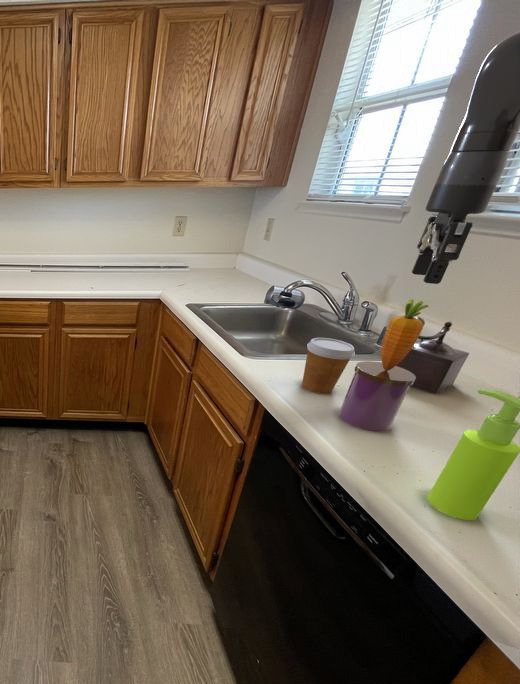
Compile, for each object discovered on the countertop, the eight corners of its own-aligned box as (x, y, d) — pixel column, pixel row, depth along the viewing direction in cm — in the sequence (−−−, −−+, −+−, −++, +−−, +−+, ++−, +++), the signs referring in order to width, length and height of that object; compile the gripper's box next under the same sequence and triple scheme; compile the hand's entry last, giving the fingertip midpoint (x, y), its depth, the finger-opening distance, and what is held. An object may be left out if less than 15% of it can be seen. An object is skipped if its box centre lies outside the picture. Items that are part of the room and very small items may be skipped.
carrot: (373, 363, 88) (402, 294, 82) (403, 371, 85) (436, 299, 78) (368, 370, 85) (398, 298, 79) (399, 378, 82) (432, 304, 75)
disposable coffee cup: (298, 376, 110) (312, 334, 105) (341, 388, 105) (358, 343, 99) (290, 389, 104) (305, 344, 99) (336, 401, 98) (354, 355, 93)
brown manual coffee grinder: (401, 370, 115) (429, 306, 107) (453, 386, 106) (488, 318, 98) (373, 382, 108) (402, 315, 100) (427, 400, 99) (462, 329, 91)
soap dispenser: (439, 489, 71) (499, 385, 62) (486, 519, 65) (560, 408, 56) (410, 492, 70) (467, 387, 61) (456, 523, 64) (526, 411, 55)
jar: (386, 417, 92) (409, 367, 87) (395, 438, 85) (421, 385, 79) (334, 406, 96) (353, 357, 91) (339, 425, 89) (359, 374, 84)
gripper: (515, 183, 63) (464, 289, 70) (480, 182, 74) (439, 273, 81) (449, 182, 66) (407, 283, 73) (425, 181, 77) (391, 269, 84)
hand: (424, 278), depth 77 cm, fingers open, 8 cm apart
